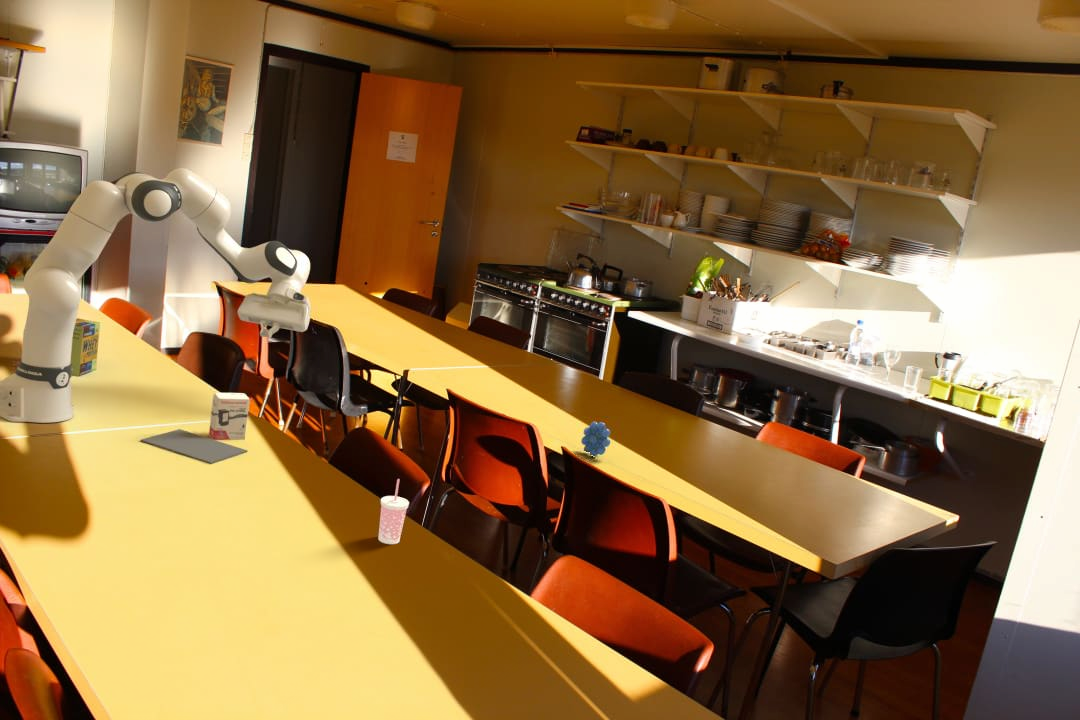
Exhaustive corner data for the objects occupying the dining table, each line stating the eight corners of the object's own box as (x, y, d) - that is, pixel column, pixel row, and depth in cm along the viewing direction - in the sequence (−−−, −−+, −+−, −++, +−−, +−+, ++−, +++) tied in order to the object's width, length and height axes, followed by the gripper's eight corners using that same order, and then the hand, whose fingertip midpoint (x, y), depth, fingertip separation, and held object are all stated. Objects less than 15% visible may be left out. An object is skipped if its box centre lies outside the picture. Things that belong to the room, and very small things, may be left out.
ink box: (212, 440, 237) (217, 397, 235) (208, 434, 241) (213, 392, 239) (245, 439, 242) (250, 398, 240) (240, 434, 246) (245, 392, 244)
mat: (140, 441, 226) (140, 439, 226) (179, 430, 240) (179, 429, 239) (210, 464, 220) (210, 462, 220) (247, 451, 233) (247, 450, 233)
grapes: (614, 462, 284) (622, 426, 282) (600, 463, 280) (607, 427, 277) (589, 450, 293) (596, 415, 290) (574, 451, 288) (581, 415, 286)
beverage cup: (390, 548, 191) (399, 486, 188) (368, 538, 194) (378, 477, 191) (408, 541, 196) (418, 481, 194) (387, 531, 199) (397, 472, 197)
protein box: (79, 377, 270) (84, 327, 268) (29, 368, 270) (32, 317, 267) (97, 370, 281) (101, 322, 278) (48, 361, 280) (52, 313, 278)
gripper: (245, 285, 261) (227, 322, 253) (313, 298, 259) (297, 336, 252) (249, 298, 266) (232, 335, 258) (316, 311, 265) (300, 348, 257)
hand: (265, 336), depth 255 cm, fingers closed
